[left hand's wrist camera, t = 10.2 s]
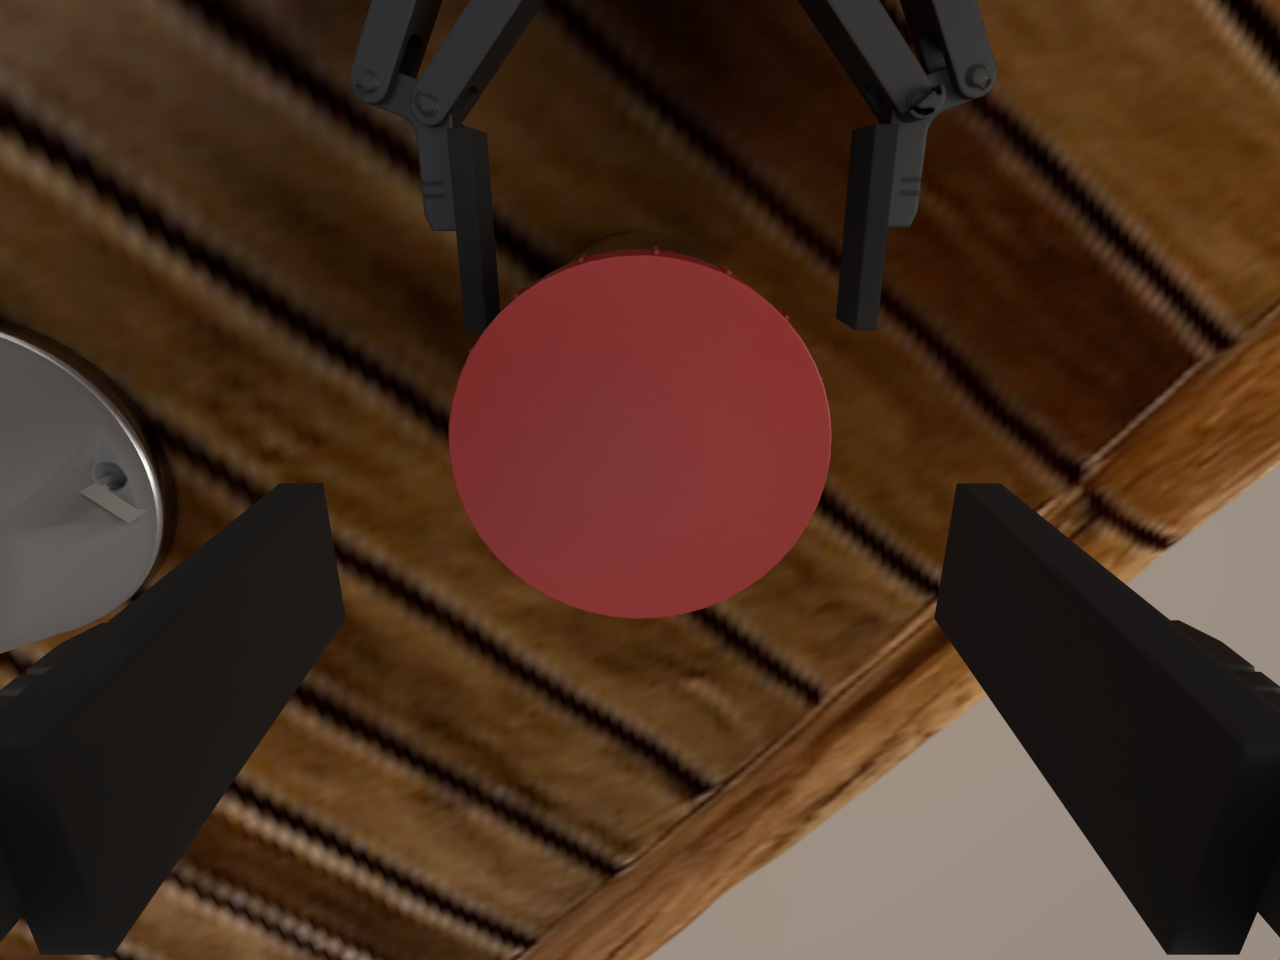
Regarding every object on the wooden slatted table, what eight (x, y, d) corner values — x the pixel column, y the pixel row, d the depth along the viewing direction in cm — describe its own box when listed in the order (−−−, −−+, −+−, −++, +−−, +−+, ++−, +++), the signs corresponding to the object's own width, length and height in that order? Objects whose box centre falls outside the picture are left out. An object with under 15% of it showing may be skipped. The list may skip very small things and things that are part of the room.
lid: (819, 570, 22) (836, 604, 20) (497, 600, 22) (483, 636, 20) (813, 228, 18) (832, 232, 16) (430, 270, 19) (407, 278, 17)
